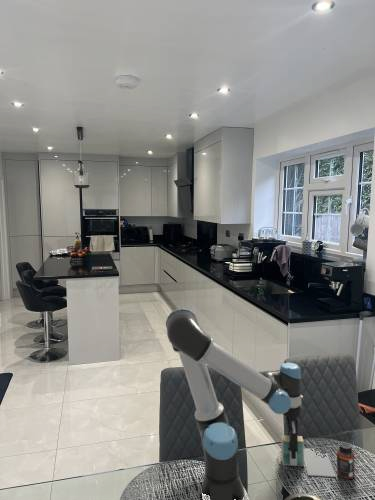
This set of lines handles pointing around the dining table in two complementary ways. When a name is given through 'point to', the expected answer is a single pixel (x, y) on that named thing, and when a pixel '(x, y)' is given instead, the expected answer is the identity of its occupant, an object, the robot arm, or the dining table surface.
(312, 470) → the grey mat
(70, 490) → the dining table surface
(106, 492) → the dining table surface
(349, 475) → the supplement bottle
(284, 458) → the small box
